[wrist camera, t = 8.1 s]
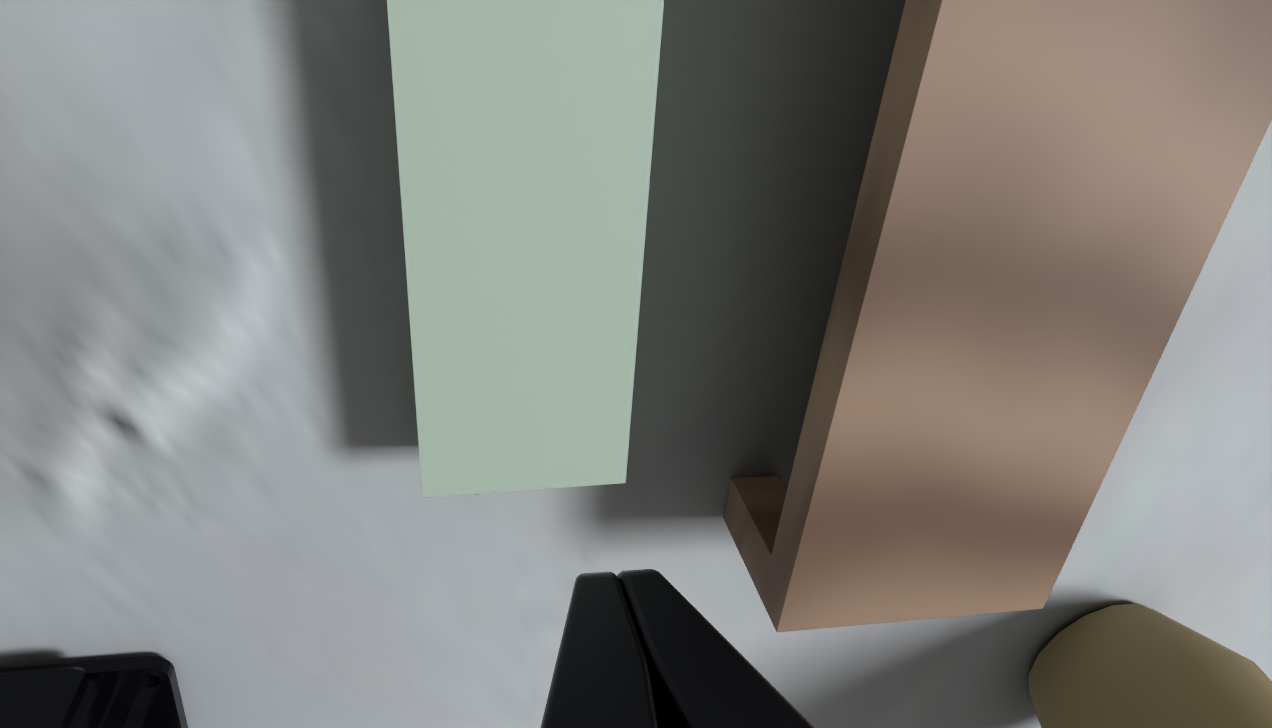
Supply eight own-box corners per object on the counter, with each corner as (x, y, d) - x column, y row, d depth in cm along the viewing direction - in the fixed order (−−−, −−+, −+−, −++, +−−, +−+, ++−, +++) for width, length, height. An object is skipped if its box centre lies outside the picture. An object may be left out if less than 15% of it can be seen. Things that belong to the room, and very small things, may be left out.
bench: (952, 505, 26) (1043, 608, 22) (723, 517, 24) (776, 631, 20) (1187, -133, 18) (1397, -149, 14) (864, -190, 16) (1001, -226, 12)
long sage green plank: (607, 427, 22) (625, 482, 20) (424, 437, 21) (422, 497, 19) (637, -52, 17) (667, -48, 15) (390, -71, 16) (381, -69, 13)
